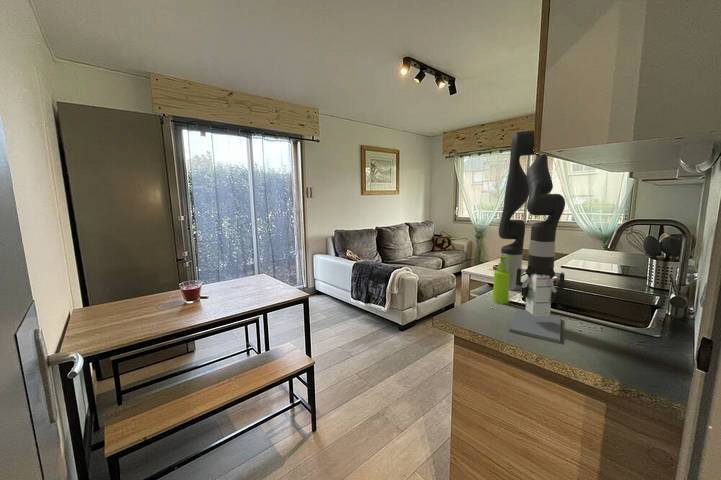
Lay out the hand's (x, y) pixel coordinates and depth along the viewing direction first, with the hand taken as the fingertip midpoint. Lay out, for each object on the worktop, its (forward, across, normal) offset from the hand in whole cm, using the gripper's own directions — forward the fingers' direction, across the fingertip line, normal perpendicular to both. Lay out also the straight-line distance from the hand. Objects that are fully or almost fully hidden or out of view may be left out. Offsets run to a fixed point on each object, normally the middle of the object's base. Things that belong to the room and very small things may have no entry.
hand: (537, 299), depth 99 cm
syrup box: (+5, 0, 0) cm, 5 cm away
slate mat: (+9, 0, 0) cm, 9 cm away
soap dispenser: (+10, +14, -18) cm, 25 cm away
